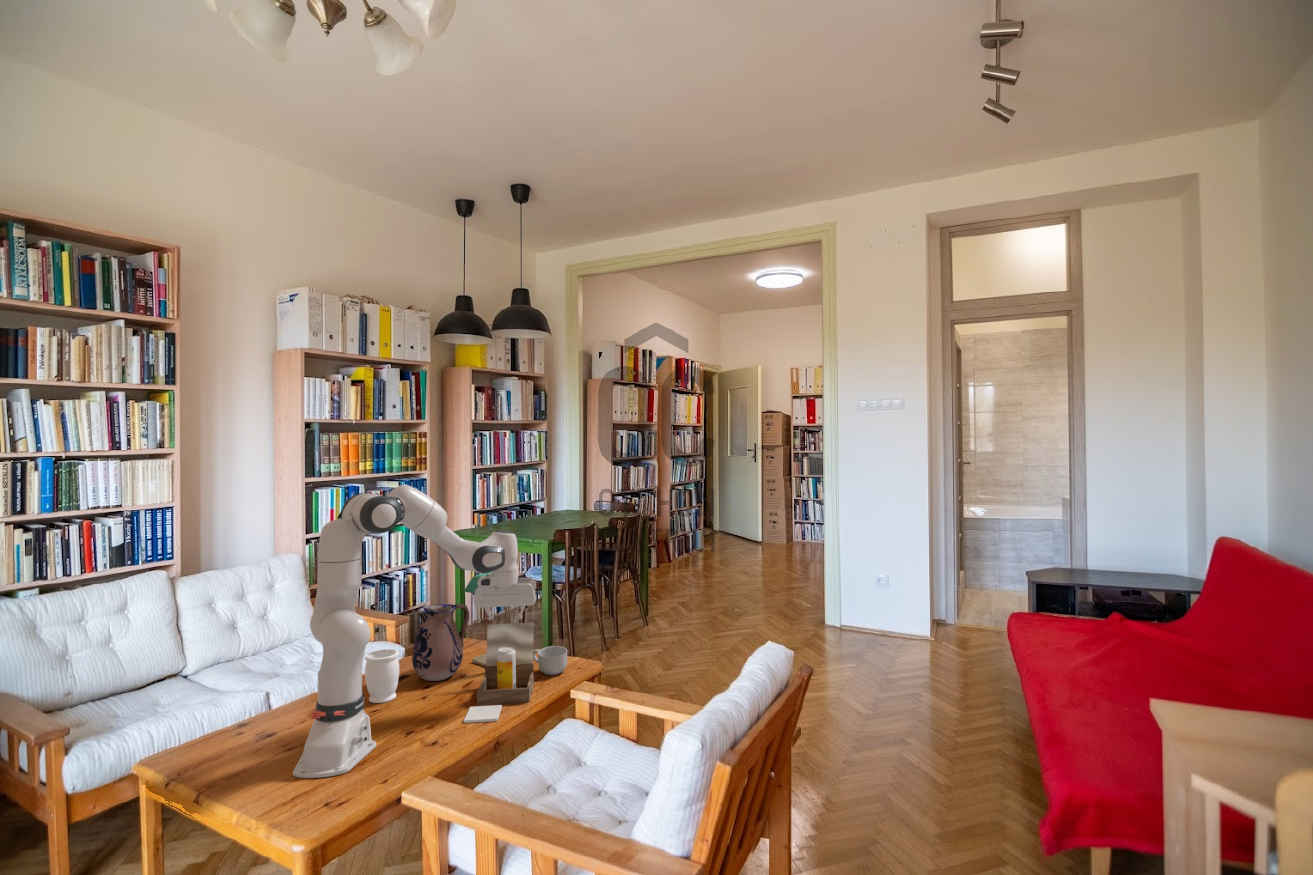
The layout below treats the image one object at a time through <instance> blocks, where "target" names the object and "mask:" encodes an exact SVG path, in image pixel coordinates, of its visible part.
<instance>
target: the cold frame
mask: <svg viewBox="0 0 1313 875" xmlns="http://www.w3.org/2000/svg"><path fill="white" fill-rule="evenodd" d="M503 647H513V648H514V650H515V658H516V686H526V687H516V688H513V689H488V688H493V687H497V652H498V649H500V648H503ZM533 651H534V622H511V623H510V624H506V623H495V624H494V623H493V624H491V623H490V624H487V634H486V652H485V654H486V666H485V667H484V676H483V678H482V680H481V682H480V684H479V686H478V688H477V691H476V694H477V697H476V703H477V704H476V705H477V706H488V705H502V704H503V705H505V704H519V703H521V704H522V703H530V700H531V697H532V693H533V688H534V685H535V677H534V676H535V674H534V671H535V670H534V669H535V668H534V666H535V665H534V662H533V661H534V659H533Z"/></svg>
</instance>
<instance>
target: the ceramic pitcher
mask: <svg viewBox="0 0 1313 875" xmlns="http://www.w3.org/2000/svg"><path fill="white" fill-rule="evenodd" d="M422 609H423V610H421V611H419V612H418V614H419V626H418V628H417V633H416V636H415V638H414V639H415V640H414V644H413V647H412V653H411V660H412V666H413V669H414V672H415V673H416V674H417V675H418V676H419V677H420V678H422V679H423V680H425V681H429V682H436V681H437V682H438V681H439V682H440V681H445V680H447V679H448V678H450V677H451V676H453V675H454V674H455V673H456V672H457V671H458V670H459V668H460V666H462V662H463V658H464V646H465V645H464V638H465V635H466V631H467V628H468V625H469V621H470V610H469V608H468V606H467V605H465V604H464V603H458V604H451V603H449V604H448V603H441V604H433V605H432V604H431V605H428V606H425V607H423V608H422ZM457 609H462V611H463V613H464V616H463V622H462V626H461V629H460V631H459V630H458V628H457V625H456V622H455V619H454V614H455V611H456V610H457Z"/></svg>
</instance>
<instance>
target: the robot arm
mask: <svg viewBox="0 0 1313 875" xmlns="http://www.w3.org/2000/svg"><path fill="white" fill-rule="evenodd" d="M399 523H401V524H402V525H403V526H405V527H406V528H407V529H409V530H410V531H412V532H413V533H415V534H417V535H418V536H421V537H422V538H425V539H428V540H430V541H432V542H433V543H434V544H436V545H437V546H438V547H439V548H441V549H442V550H443V551H444V552H445V553H447V555H448V556H449V557H450V559H451V562H452V563H453V565H454V566H455V567H456V568H458V569H459V570H462V571H469V572H474V573H477V574H484V573H489V572H491V573H490V574H487V575H485V576H482V577H480V578H479V580H478V587H477V589H476V591H475V594H474V597H473V605H474V607H476V608H477V609H479V608H484V611H485V612H486V614H487V616H488V621H494V619H495V614H494V613H492V612H491V610H490V609H491V608H498V607H500V608H501V607H502V608H503V607H505V606H509V607H520V610H521V611H519V612H517V614H516V615H517V617H516V619H517V620H522V619H523V613H524V611H525V609H526V606H534V605H535V604H536V599H537V598H536V589H537V581H536V580H535V579H534V578H532V577H531V576H530V577H519V566H518V556H519V549H518V548H519V547H518V540H517V535H516V533H514V532H511V531H507V530H499V529H497V530H493V532H492V533H491V534H490V535H489V536H488V537H487V538H485V539H483V540H482V541H480V542H479V541H474V540H471V539H466V538H462V537H460V536H459V535H458V534H456V532H454V531H453V530H451V529H450V528H449V527H448V526H447V523H448V513H447V511H446V510H445V509H444V507H442V506H441V505H440V504H439V503H438V502H437V501H435V499H433V498H431V497H430V496H428V495H427V494H426V493H424V492H422V490H421V491H420V490H419V489H417V488H416V487H413V486H410V485H409V484H402V485H398V486H396V487H394V488H393V489H392V490H390V492H389V493H388V494H387V495H379V494H377V493H371V492H370V493H364V492H361V493H360V492H359V493H357V494H354V495H352V496H351V497H349V498H348V499H347V500H346V501H345V502H344V504H343V506H342V508H341V511H340V512H339V514H338V515H337V519H334V520H331V521H329V522H326V523H325V524H324V525H323V527H322V529H321V531H320V536H319V541H318V549H317V579H316V580H317V582H316V584H317V587H316V594H315V595H316V596H315V600H314V606H313V611H312V612H313V613H312V615H311V616H310V617H311V618H310V622H309V628H310V631H311V634H312V636H313V638H314V639H315V641H317V642H318V643H320V644H321V645H322V659H321V664H320V668H319V670H318V672H317V701H316V705H315V709H314V710H313V711H312V712H311V720H313V722H312V725H311V728H310V730H309V732H308V733H309V734H308V735H307V738H306V740H305V744H304V747H303V752H302V753H301V756H300V758H299V760H298V762H297V763H296V765H295V767H294V768H293V771H292V776H293V777H295V778H300V779H315V778H316V779H317V778H318V779H319V778H327V777H333V776H337V775H343V774H346V773H348V772H349V771H351V770H352V769H353V768H354V767H355V766H356V765H357V764H358V763H360V762H361V761H362V760H363V759H364V758H365V757H366V756H368V754H370V753H371V752H372V751H373V750H374V749H375V748H377V741H376V740H373V739H372V733H371V719H370V718H371V717H370V716H369V714H368V713H366V711H365V710H364V708H365V695H364V693H363V664H364V663H363V662H364V659H365V652H366V647H367V645H368V644H369V641H370V638H371V628H370V626H369V624H368V622H367V621H366V619H365V618H364V616H362V615H361V614H359V613H358V612H356V601H357V597H358V595H359V590H360V589H361V587H362V570H363V569H362V567H363V566H362V559H363V558H362V556H363V555H362V545H363V541H364V540H365V539H364V538H365V536H366V535H367V534H374V535H375V534H376V535H381V534H385V533H387V532H389V531H391V530H392V529H394V528H395V527H396V526H397V525H398V524H399Z"/></svg>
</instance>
